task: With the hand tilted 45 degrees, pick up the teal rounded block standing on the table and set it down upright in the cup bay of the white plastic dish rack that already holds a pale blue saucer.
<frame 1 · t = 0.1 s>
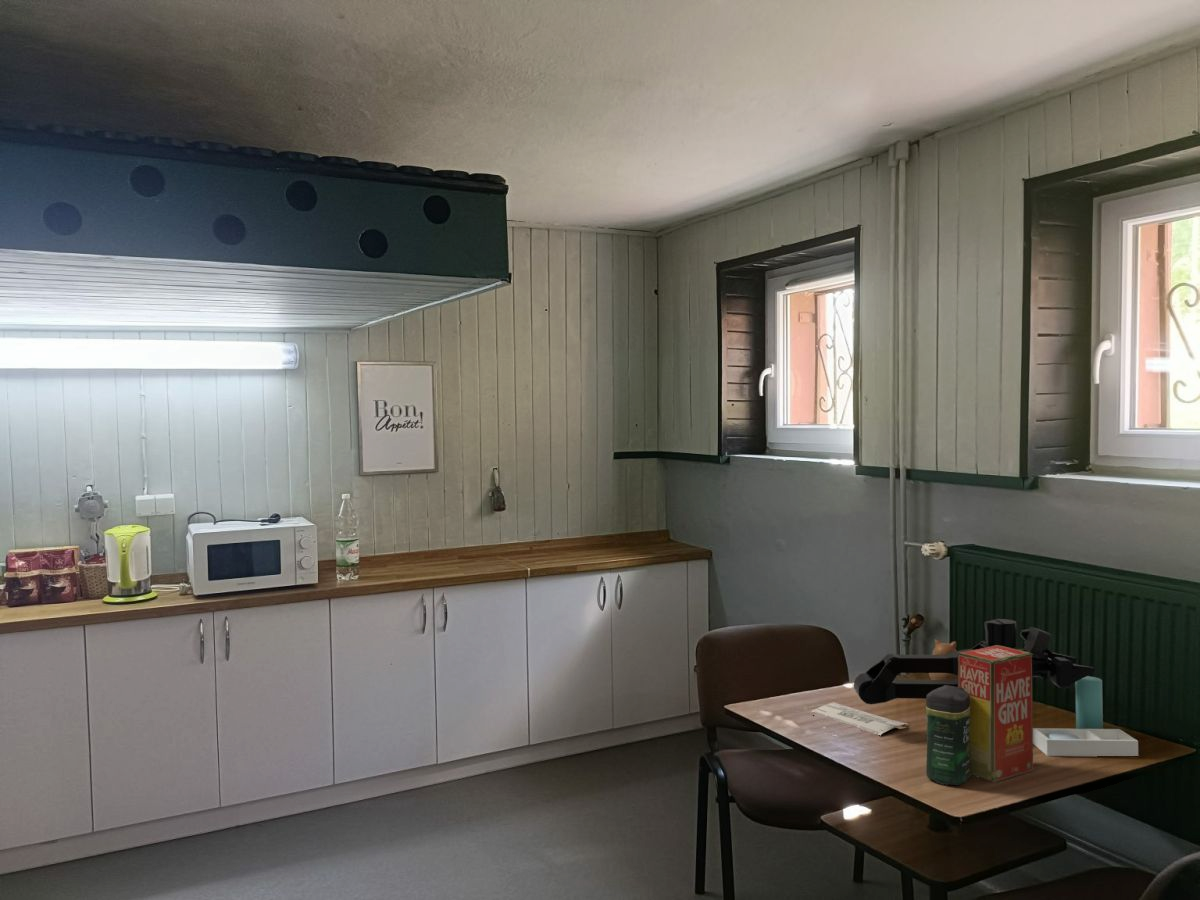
hand: (1085, 664, 205), 17 cm above the table, tool horizontal, fingers open, 9 cm apart
rack: (1084, 750, 195), on the table
cat ice cream: (945, 710, 226), on the table
newspaper: (858, 723, 220), on the table
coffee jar: (949, 779, 181), on the table
food packaging: (995, 771, 185), on the table
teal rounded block: (1089, 734, 206), on the table
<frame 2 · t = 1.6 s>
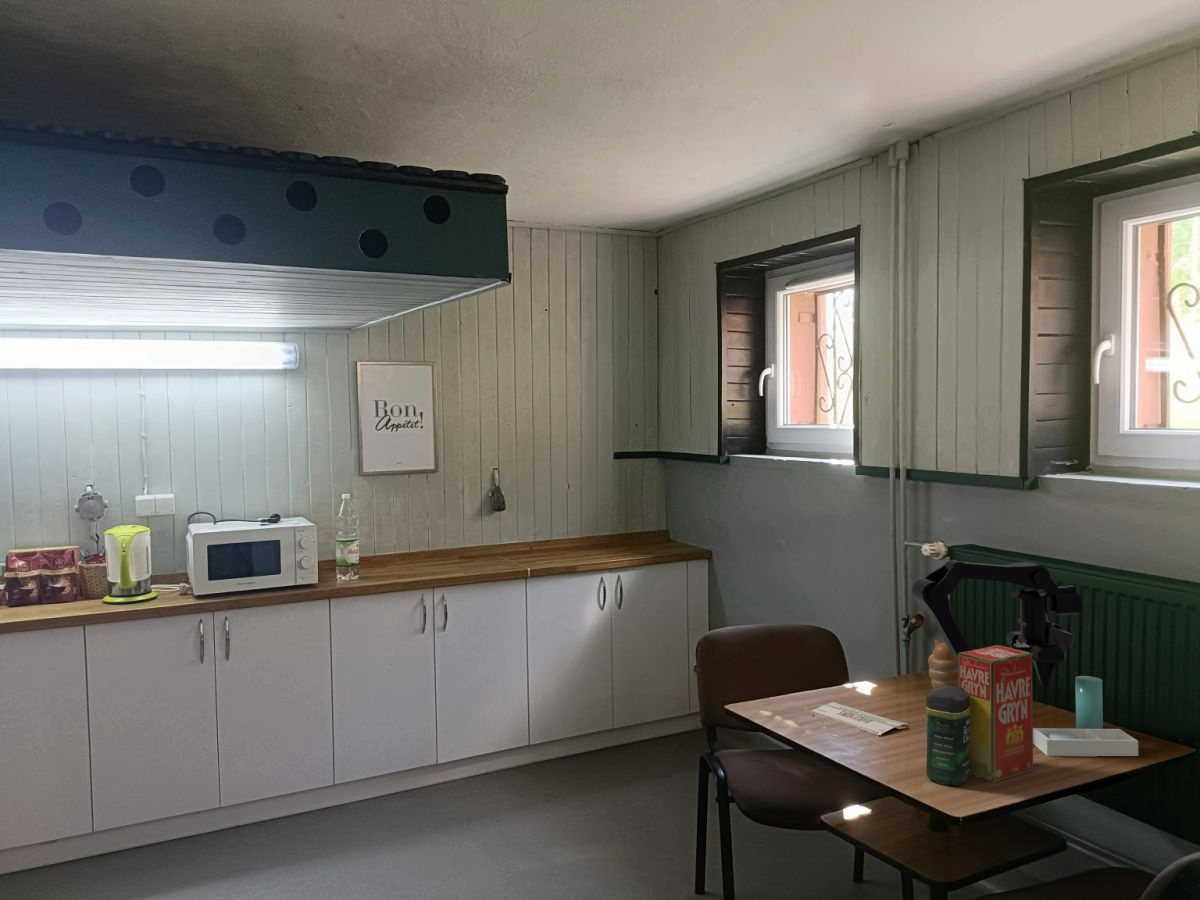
hand: (1036, 681, 208), 12 cm above the table, tool pointing down, fingers open, 9 cm apart
nothing on the table moved.
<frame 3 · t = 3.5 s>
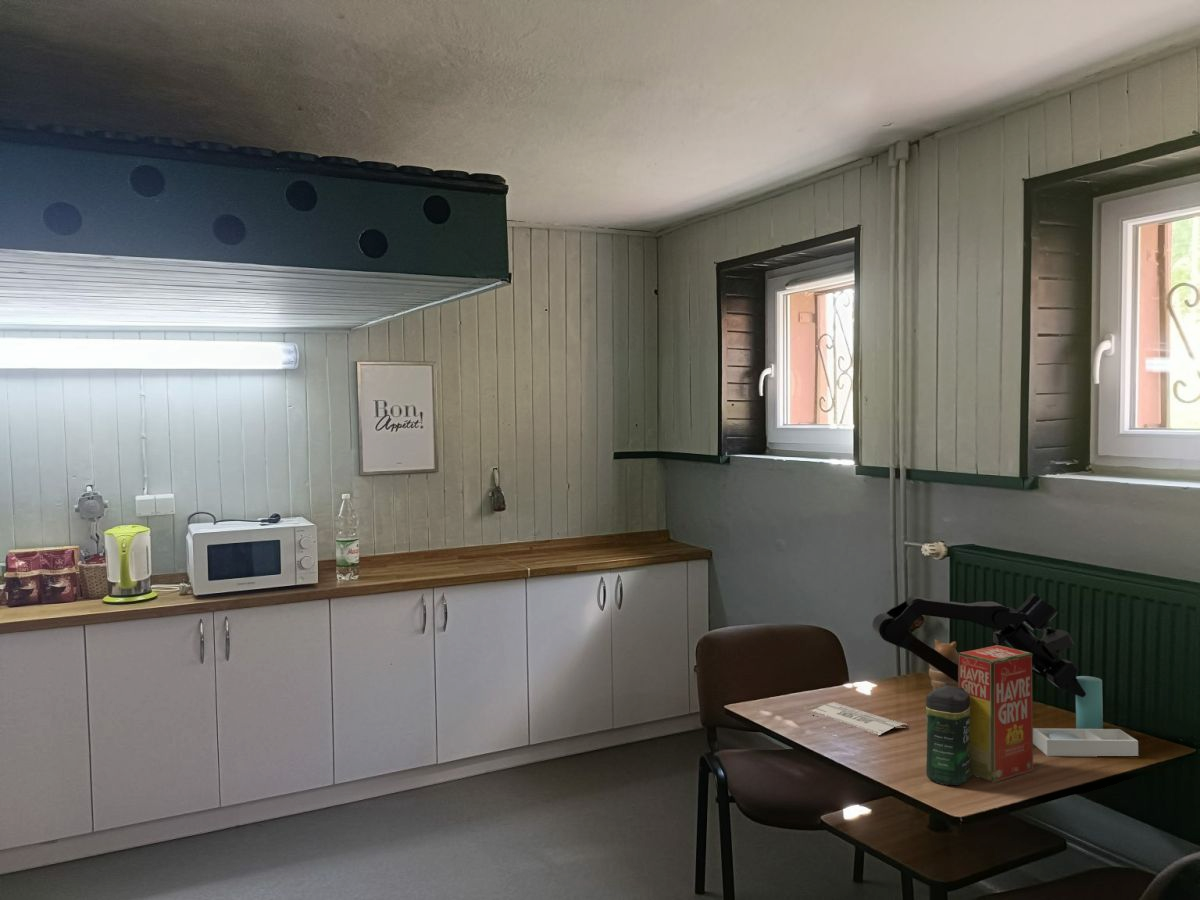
hand: (1074, 690, 206), 10 cm above the table, tool tilted 45°, fingers open, 9 cm apart
nothing on the table moved.
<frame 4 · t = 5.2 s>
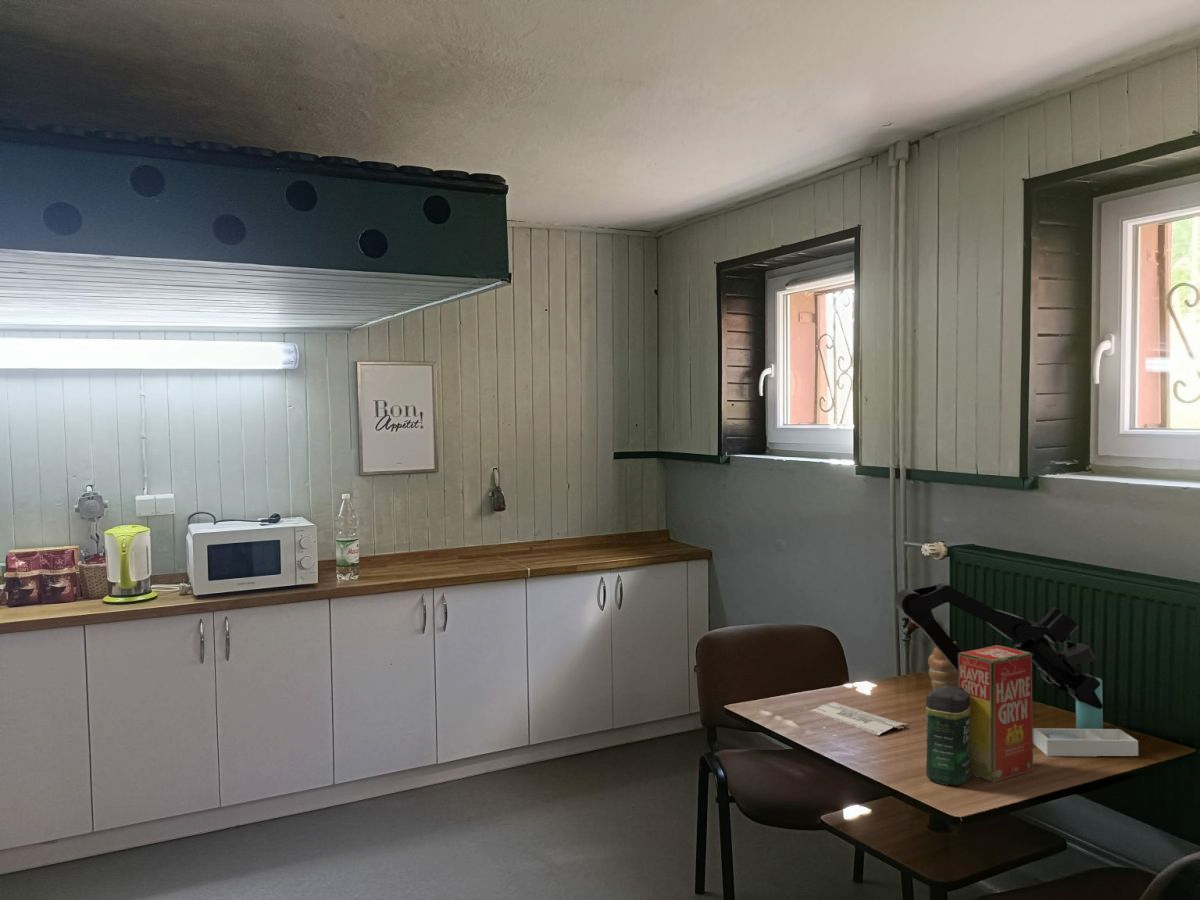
hand: (1095, 704, 206), 7 cm above the table, tool tilted 45°, fingers closed on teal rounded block, 5 cm apart
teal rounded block: (1089, 734, 206), on the table, touching gripper
everything else where it was.
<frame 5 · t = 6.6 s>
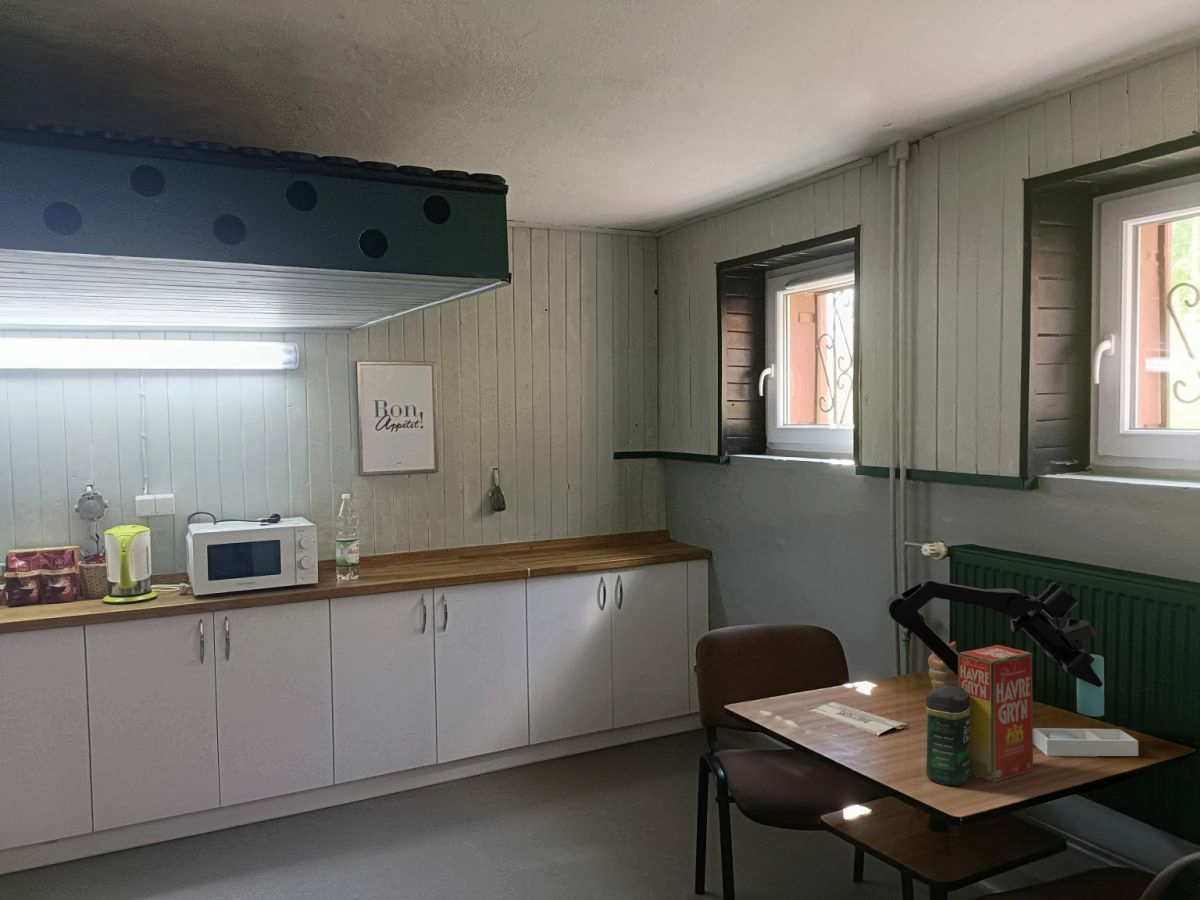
hand: (1096, 682, 201), 13 cm above the table, tool tilted 45°, fingers closed on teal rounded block, 5 cm apart
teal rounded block: (1090, 712, 202), point 6 cm above the table, touching gripper
everything else where it was.
when the fingers open (10 cm above the table, at t = 8.4 s): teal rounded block drops 2 cm, resting on rack.
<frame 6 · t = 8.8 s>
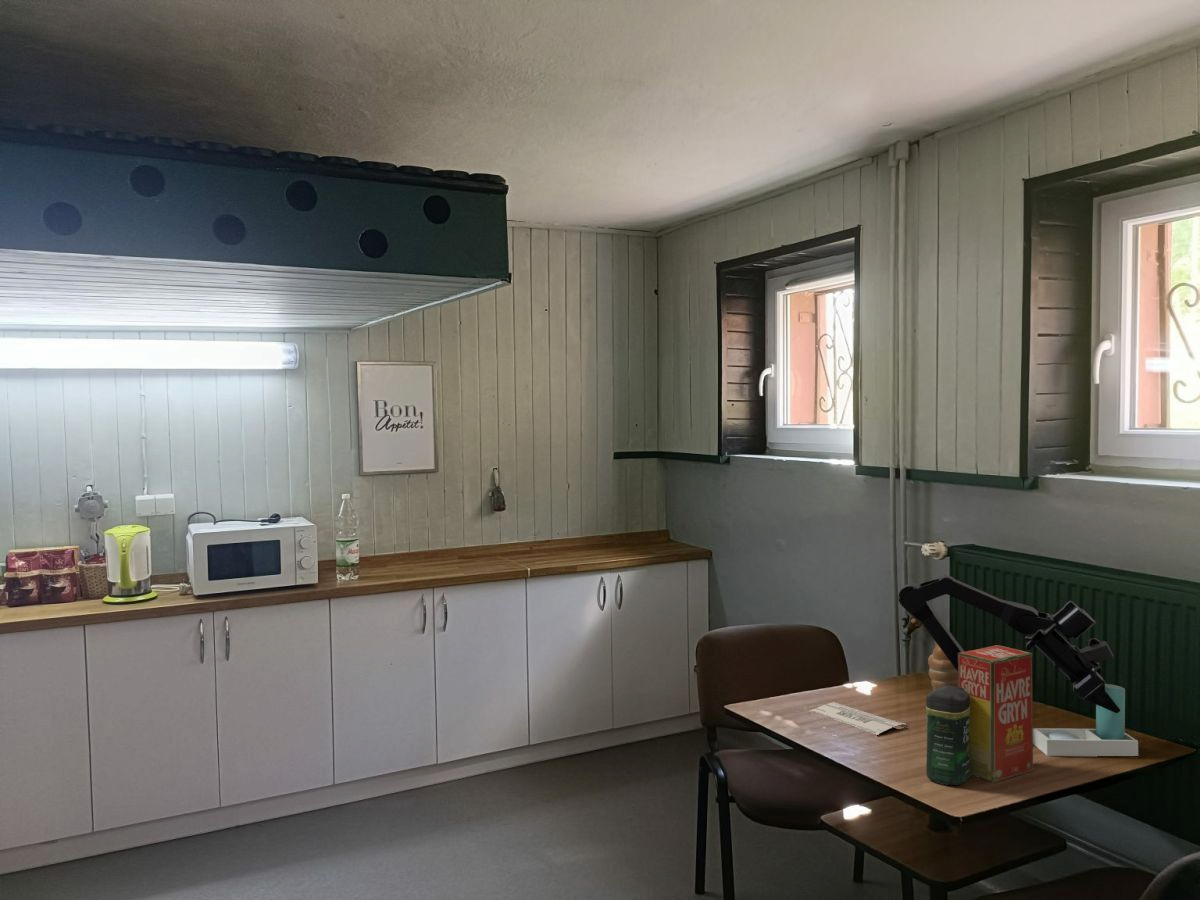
hand: (1117, 706, 194), 10 cm above the table, tool tilted 45°, fingers open, 9 cm apart
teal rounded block: (1109, 745, 195), point 1 cm above the table, touching rack
everything else where it was.
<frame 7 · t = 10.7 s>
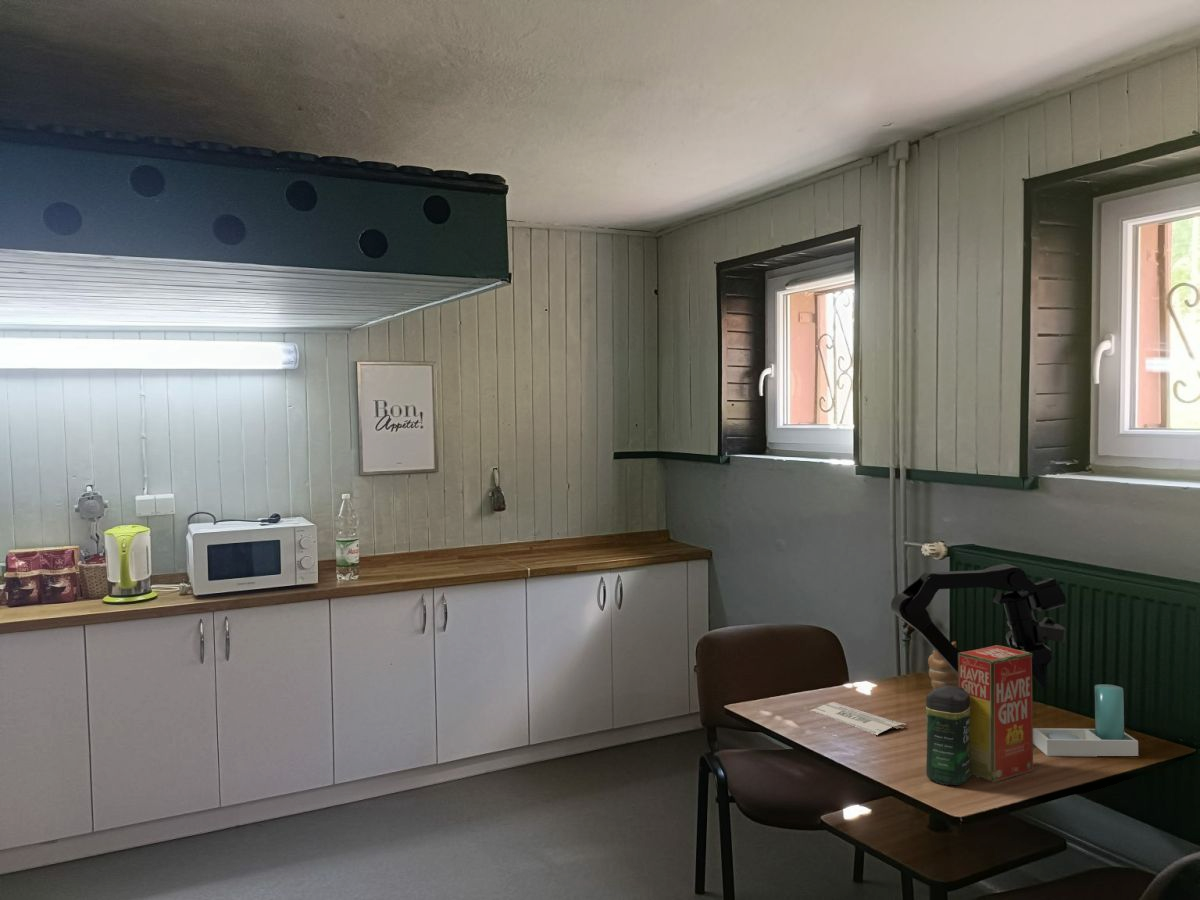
hand: (1037, 680, 207), 13 cm above the table, tool pointing down, fingers open, 9 cm apart
nothing on the table moved.
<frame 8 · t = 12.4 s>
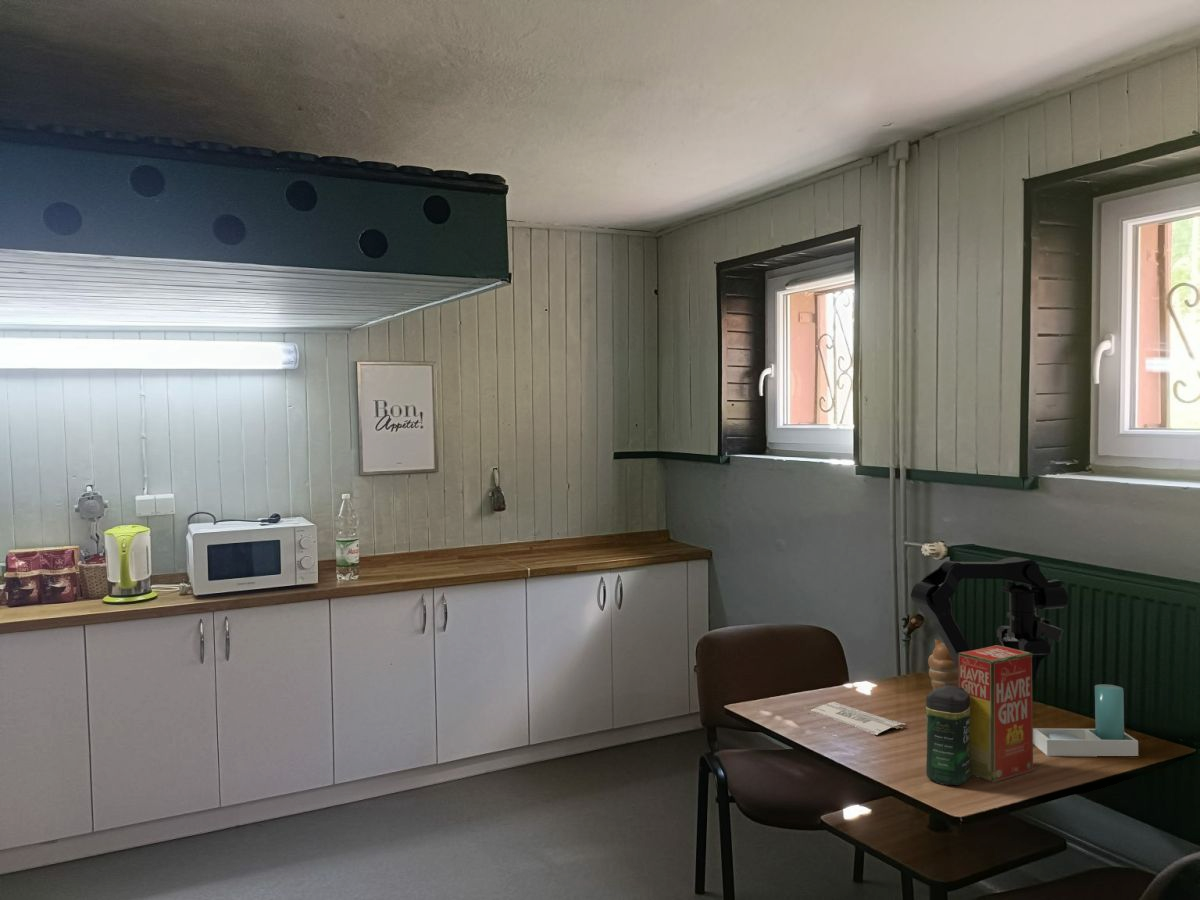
hand: (1024, 675, 210), 13 cm above the table, tool pointing down, fingers open, 9 cm apart
nothing on the table moved.
at the end: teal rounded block 0.1 cm from the target spot on the rack, point 1.0 cm above the rack's base; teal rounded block tilted 0°; the gripper is holding nothing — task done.
